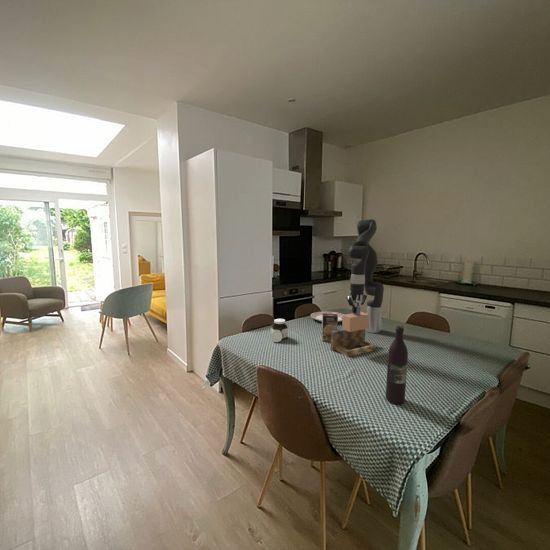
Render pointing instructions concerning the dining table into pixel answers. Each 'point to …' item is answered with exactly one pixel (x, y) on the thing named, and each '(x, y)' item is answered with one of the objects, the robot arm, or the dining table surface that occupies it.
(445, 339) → the dining table surface
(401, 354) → the wine bottle
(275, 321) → the spread jar
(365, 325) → the tan box with handle
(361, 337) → the brown grey open box
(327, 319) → the coffee box
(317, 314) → the dinner plate
